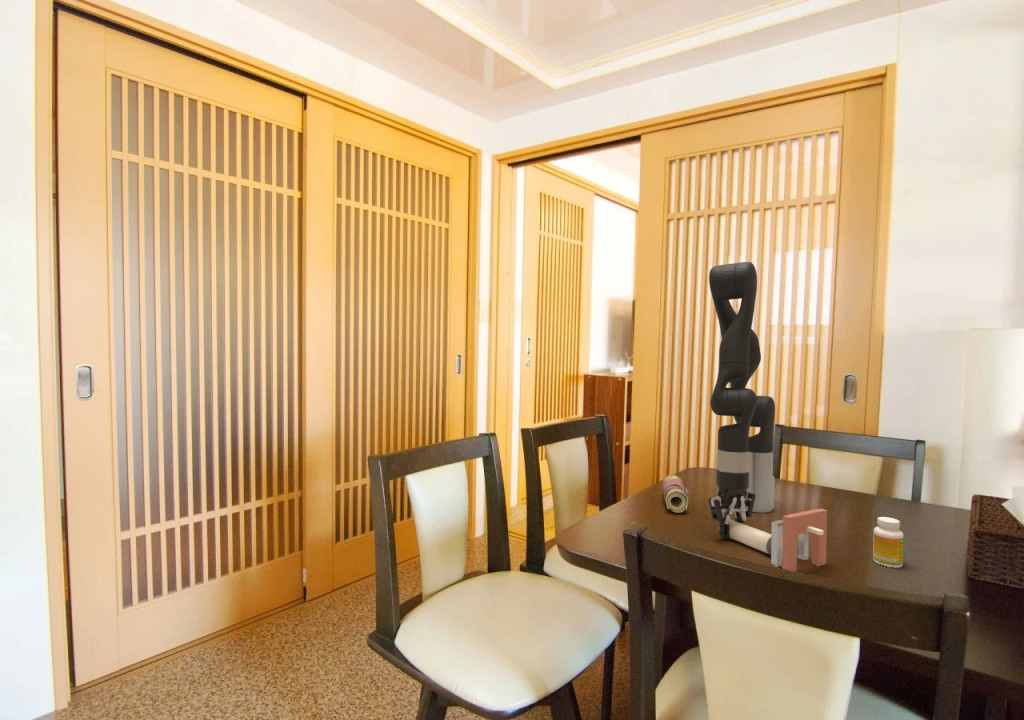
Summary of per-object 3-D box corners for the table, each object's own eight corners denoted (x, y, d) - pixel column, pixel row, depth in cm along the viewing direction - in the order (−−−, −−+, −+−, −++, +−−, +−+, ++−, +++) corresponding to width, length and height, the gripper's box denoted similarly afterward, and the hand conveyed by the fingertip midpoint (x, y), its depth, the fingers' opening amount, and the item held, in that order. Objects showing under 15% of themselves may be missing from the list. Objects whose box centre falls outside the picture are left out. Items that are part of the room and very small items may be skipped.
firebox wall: (819, 561, 116) (820, 508, 116) (839, 569, 112) (840, 514, 112) (782, 571, 111) (782, 515, 111) (801, 580, 107) (802, 522, 106)
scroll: (696, 511, 147) (691, 492, 166) (684, 486, 147) (681, 470, 167) (670, 520, 149) (669, 500, 168) (659, 496, 149) (658, 478, 169)
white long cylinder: (719, 537, 131) (718, 519, 131) (732, 533, 133) (731, 516, 133) (774, 561, 117) (774, 540, 117) (788, 556, 119) (788, 536, 118)
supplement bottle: (904, 570, 112) (905, 525, 111) (873, 565, 114) (874, 521, 114) (901, 561, 116) (902, 518, 116) (872, 556, 119) (873, 514, 119)
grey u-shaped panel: (802, 556, 119) (802, 515, 118) (808, 559, 117) (808, 517, 117) (771, 564, 115) (771, 521, 114) (777, 567, 113) (777, 523, 113)
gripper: (741, 462, 136) (740, 527, 137) (699, 467, 130) (698, 535, 131) (765, 468, 129) (765, 536, 130) (723, 474, 124) (722, 546, 124)
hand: (731, 535), depth 130 cm, fingers closed on white long cylinder, 4 cm apart
